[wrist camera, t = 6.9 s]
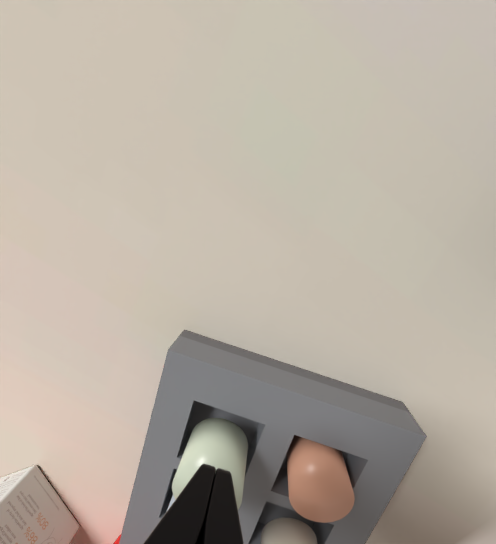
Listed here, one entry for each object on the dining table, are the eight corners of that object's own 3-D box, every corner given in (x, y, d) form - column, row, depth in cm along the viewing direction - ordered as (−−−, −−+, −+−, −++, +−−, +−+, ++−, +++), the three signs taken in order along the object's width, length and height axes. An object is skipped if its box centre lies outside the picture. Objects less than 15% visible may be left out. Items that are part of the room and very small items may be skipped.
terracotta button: (349, 439, 18) (364, 484, 15) (329, 480, 19) (340, 530, 16) (296, 421, 18) (301, 462, 15) (279, 462, 19) (280, 509, 16)
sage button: (255, 429, 17) (251, 477, 14) (238, 474, 18) (230, 530, 14) (198, 409, 17) (181, 453, 14) (184, 456, 18) (165, 506, 15)
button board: (402, 402, 19) (428, 439, 15) (312, 573, 23) (318, 629, 20) (184, 329, 19) (166, 351, 16) (136, 509, 23) (115, 554, 20)
